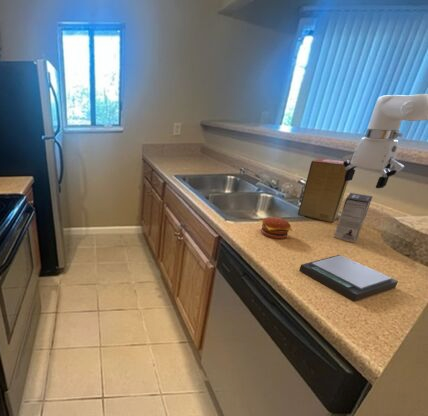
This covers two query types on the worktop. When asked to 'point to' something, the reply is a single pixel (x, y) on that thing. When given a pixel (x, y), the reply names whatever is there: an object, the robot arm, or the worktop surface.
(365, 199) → the coffee box
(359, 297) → the scale
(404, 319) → the worktop surface
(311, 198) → the food packaging
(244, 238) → the worktop surface
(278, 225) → the hamburger
